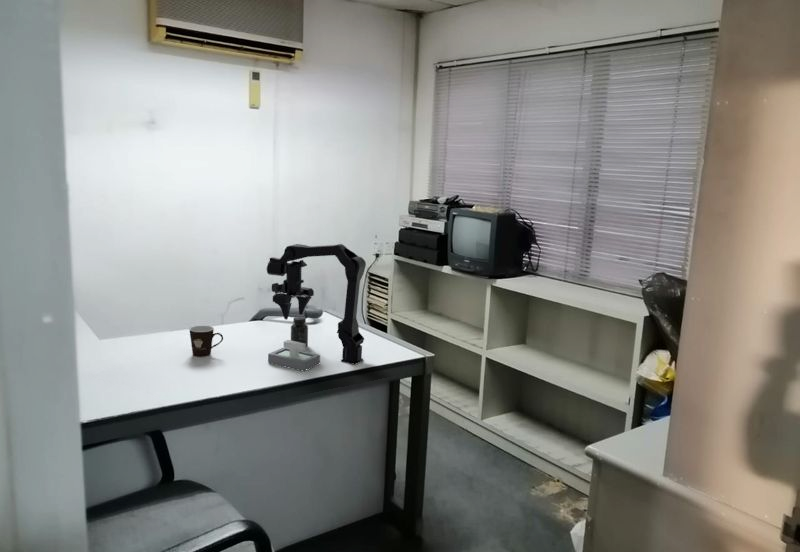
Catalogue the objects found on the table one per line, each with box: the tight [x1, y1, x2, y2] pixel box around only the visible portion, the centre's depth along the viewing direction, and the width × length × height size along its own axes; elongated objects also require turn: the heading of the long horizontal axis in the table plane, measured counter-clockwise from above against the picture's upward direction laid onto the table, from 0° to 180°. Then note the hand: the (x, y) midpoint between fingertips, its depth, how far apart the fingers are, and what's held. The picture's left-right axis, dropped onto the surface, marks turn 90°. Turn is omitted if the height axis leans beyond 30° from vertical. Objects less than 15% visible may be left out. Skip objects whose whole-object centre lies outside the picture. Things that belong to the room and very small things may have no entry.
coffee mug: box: [188, 325, 224, 358], centre depth 225 cm, size 12×9×10 cm
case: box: [267, 346, 321, 372], centre depth 222 cm, size 16×10×4 cm, turn 64°
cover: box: [279, 339, 312, 360], centre depth 222 cm, size 12×6×6 cm, turn 64°
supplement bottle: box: [290, 316, 309, 348], centre depth 241 cm, size 7×7×12 cm
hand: (293, 316), depth 234 cm, fingers open, 9 cm apart
